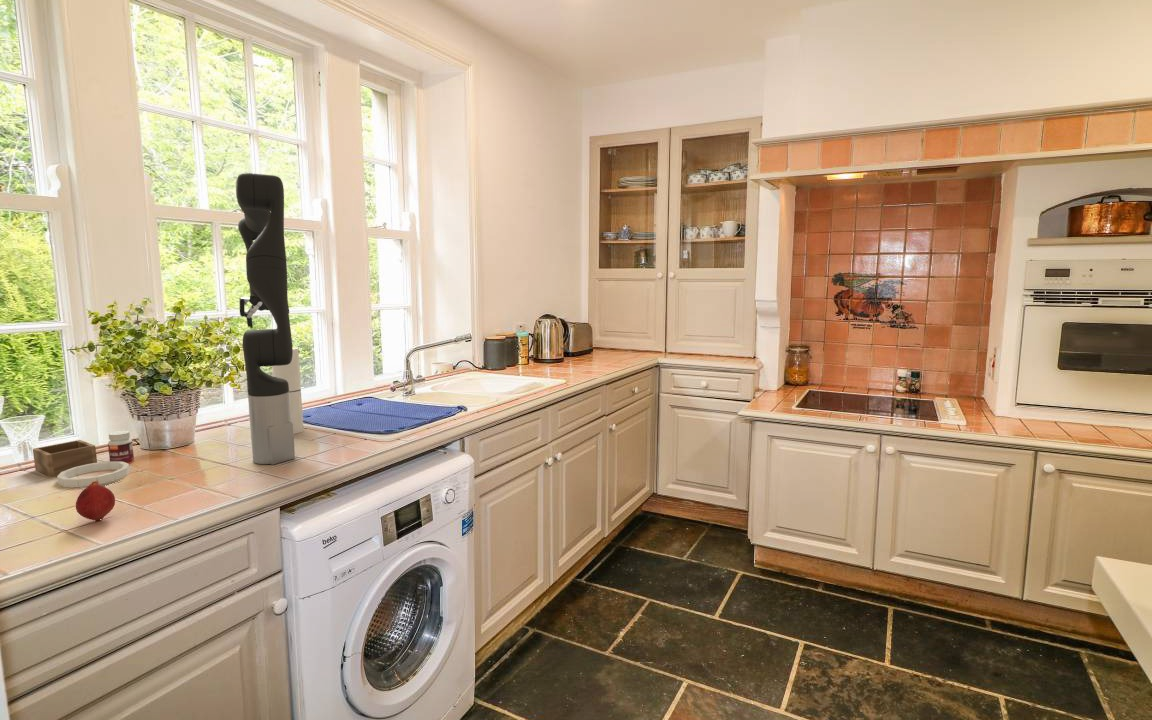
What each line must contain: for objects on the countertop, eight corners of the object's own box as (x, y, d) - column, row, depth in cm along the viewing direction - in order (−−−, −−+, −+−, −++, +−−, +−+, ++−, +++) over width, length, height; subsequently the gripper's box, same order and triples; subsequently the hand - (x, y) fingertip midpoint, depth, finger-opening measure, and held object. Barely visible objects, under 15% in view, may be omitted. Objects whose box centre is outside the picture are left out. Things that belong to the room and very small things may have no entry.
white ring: (139, 477, 137) (137, 467, 137) (72, 494, 127) (71, 483, 126) (115, 468, 144) (114, 458, 143) (50, 483, 133) (49, 472, 133)
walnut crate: (98, 469, 143) (95, 445, 142) (50, 480, 135) (47, 455, 134) (82, 463, 147) (79, 439, 146) (35, 473, 140) (32, 448, 139)
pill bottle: (108, 470, 142) (104, 436, 141) (112, 464, 147) (109, 431, 145) (132, 467, 145) (129, 433, 143) (136, 461, 149) (132, 429, 147)
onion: (85, 530, 110) (80, 488, 108) (73, 522, 113) (67, 482, 111) (122, 519, 114) (117, 479, 113) (109, 512, 117) (104, 473, 116)
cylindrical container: (284, 435, 172) (278, 351, 169) (272, 431, 177) (266, 348, 173) (308, 430, 178) (302, 348, 174) (296, 426, 182) (290, 346, 179)
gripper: (237, 284, 182) (242, 332, 189) (288, 282, 190) (291, 329, 197) (235, 276, 188) (240, 323, 195) (285, 275, 195) (288, 320, 202)
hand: (266, 326), depth 196 cm, fingers open, 8 cm apart
